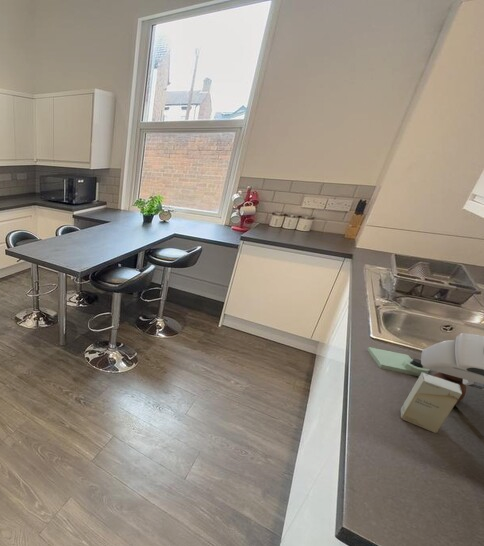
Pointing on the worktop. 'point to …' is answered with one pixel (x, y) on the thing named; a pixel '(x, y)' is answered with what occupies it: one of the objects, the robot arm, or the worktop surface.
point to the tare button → (417, 363)
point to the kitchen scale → (395, 362)
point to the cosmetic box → (430, 402)
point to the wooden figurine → (454, 380)
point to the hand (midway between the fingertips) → (472, 383)
